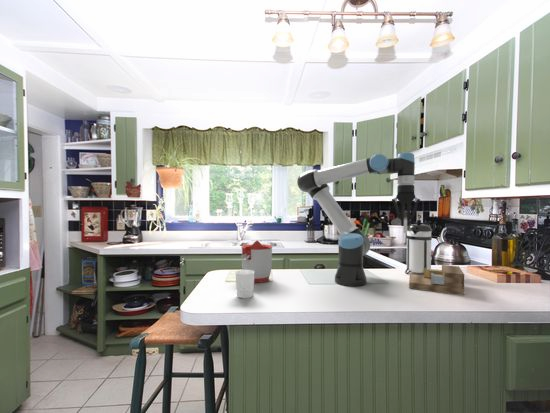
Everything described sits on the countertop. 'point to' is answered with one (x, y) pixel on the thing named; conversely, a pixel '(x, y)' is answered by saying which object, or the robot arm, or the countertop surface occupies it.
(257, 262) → the citrus juicer
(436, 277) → the grey steel plug
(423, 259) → the coffee press
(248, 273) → the white cup
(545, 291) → the countertop surface
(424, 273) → the brass plug
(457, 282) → the socket block
